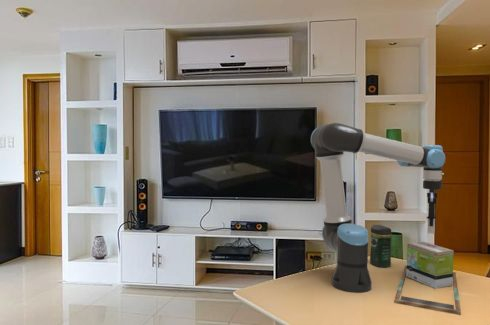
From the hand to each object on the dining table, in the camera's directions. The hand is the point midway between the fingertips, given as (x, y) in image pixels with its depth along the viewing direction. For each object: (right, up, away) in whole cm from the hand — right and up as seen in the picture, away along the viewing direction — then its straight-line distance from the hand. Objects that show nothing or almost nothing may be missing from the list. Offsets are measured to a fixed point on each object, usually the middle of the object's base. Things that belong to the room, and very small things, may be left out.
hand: (431, 233), depth 170 cm
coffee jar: (-19, -17, +11) cm, 28 cm away
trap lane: (-10, -18, -19) cm, 28 cm away
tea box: (-7, -18, -12) cm, 23 cm away
